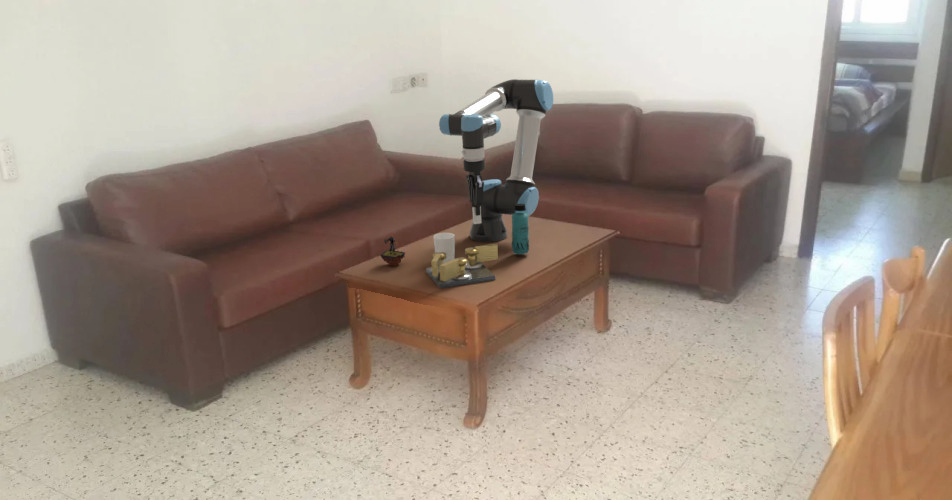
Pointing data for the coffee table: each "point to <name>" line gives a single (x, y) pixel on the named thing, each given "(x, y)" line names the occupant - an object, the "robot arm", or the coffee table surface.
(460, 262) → the foot screw
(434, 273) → the foot screw
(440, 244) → the white cup
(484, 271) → the plate
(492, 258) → the foot screw
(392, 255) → the figurine
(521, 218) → the beverage bottle
